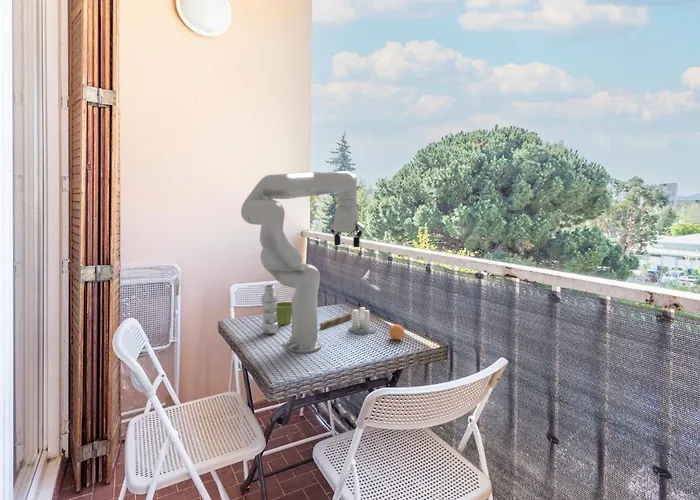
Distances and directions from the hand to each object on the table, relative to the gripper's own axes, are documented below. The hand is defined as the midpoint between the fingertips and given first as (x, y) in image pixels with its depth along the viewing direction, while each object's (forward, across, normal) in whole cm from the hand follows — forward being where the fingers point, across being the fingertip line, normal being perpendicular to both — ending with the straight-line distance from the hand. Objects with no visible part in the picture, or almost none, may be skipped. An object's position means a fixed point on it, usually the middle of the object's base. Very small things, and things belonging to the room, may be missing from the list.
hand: (346, 246), depth 160 cm
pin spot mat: (+36, +5, +6) cm, 37 cm away
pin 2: (+36, +3, +8) cm, 38 cm away
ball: (+34, +22, +5) cm, 40 cm away
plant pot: (+37, -29, -8) cm, 47 cm away
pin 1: (+36, +3, +3) cm, 37 cm away
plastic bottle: (+37, -23, -21) cm, 48 cm away
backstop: (+36, -10, +6) cm, 38 cm away
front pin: (+36, +7, +6) cm, 38 cm away
